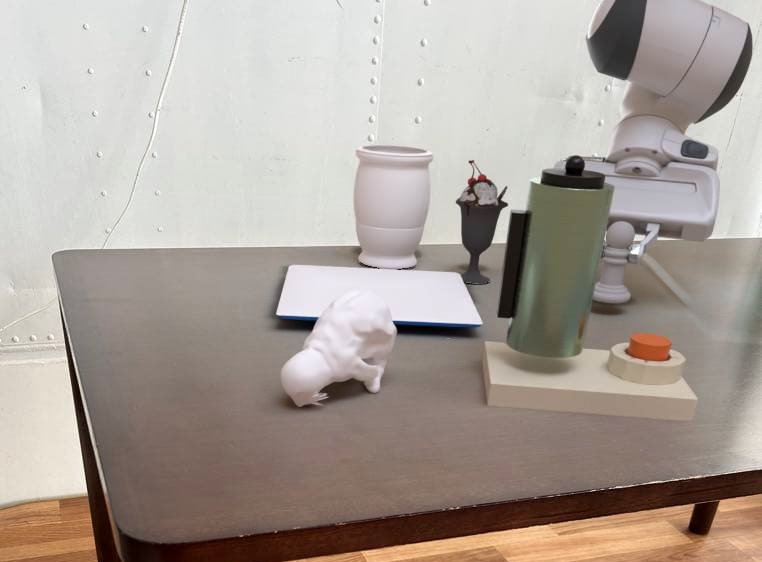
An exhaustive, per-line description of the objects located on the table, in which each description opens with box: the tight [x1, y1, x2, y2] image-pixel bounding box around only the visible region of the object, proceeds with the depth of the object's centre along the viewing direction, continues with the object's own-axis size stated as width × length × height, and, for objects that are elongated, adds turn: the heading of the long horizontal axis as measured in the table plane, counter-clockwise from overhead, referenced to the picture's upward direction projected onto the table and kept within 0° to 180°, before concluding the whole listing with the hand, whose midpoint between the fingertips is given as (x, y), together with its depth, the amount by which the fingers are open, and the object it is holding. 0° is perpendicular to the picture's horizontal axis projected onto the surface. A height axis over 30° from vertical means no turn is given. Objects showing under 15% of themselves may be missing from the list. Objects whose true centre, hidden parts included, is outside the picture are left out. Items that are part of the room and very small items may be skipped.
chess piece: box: [592, 221, 636, 304], centre depth 99 cm, size 5×5×9 cm
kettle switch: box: [627, 332, 673, 362], centre depth 75 cm, size 4×4×2 cm
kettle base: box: [481, 340, 699, 423], centre depth 76 cm, size 18×12×4 cm, turn 85°
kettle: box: [496, 154, 615, 358], centre depth 73 cm, size 8×10×16 cm
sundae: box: [455, 159, 509, 283], centre depth 108 cm, size 7×7×15 cm
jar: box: [353, 144, 435, 270], centre depth 114 cm, size 11×10×15 cm
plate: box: [275, 264, 484, 328], centre depth 98 cm, size 22×22×2 cm
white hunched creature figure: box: [280, 290, 398, 408], centre depth 72 cm, size 6×8×12 cm
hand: (615, 258), depth 98 cm, fingers closed on chess piece, 3 cm apart
